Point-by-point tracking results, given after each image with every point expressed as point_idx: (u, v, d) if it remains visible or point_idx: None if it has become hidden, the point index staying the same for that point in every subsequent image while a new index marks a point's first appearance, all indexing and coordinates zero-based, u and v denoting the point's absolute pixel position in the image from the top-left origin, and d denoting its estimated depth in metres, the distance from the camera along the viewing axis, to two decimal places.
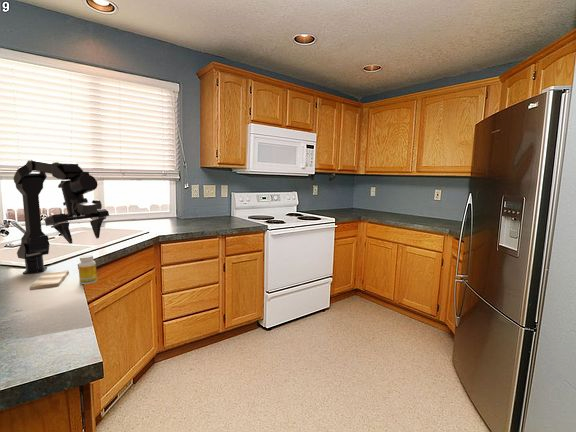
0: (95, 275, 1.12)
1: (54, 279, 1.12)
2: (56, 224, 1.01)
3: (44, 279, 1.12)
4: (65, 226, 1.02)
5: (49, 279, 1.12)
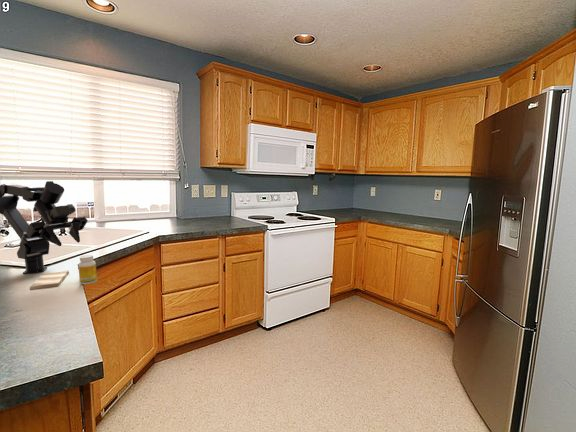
0: (95, 275, 1.12)
1: (54, 279, 1.12)
2: (41, 230, 1.09)
3: (44, 279, 1.12)
4: (50, 230, 1.10)
5: (49, 279, 1.12)
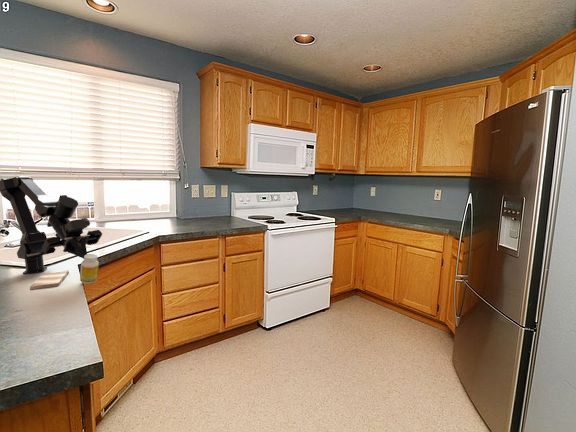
0: (96, 275, 1.12)
1: (54, 279, 1.12)
2: (66, 244, 1.09)
3: (44, 279, 1.12)
4: (74, 243, 1.10)
5: (49, 279, 1.12)
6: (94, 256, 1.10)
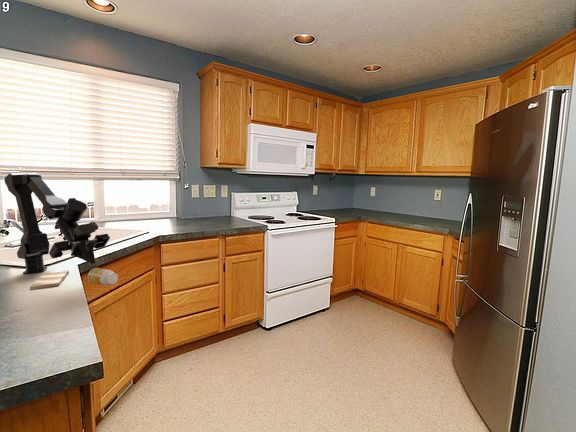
0: None
1: (54, 279, 1.12)
2: (74, 248, 1.07)
3: (44, 279, 1.12)
4: (82, 248, 1.08)
5: (49, 279, 1.12)
6: (114, 281, 1.08)
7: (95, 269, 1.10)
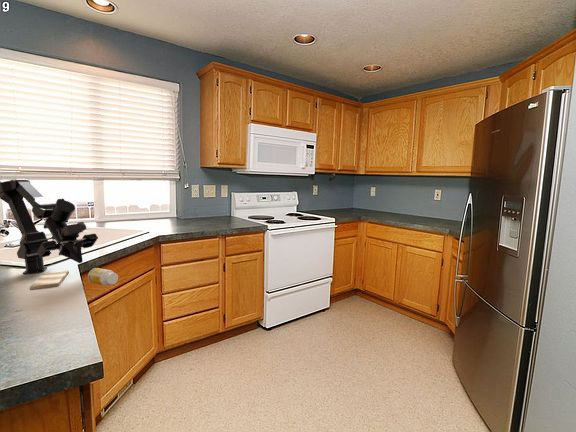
0: None
1: (54, 279, 1.12)
2: (61, 248, 1.10)
3: (44, 279, 1.12)
4: (70, 247, 1.11)
5: (49, 279, 1.12)
6: (114, 281, 1.08)
7: (95, 269, 1.10)
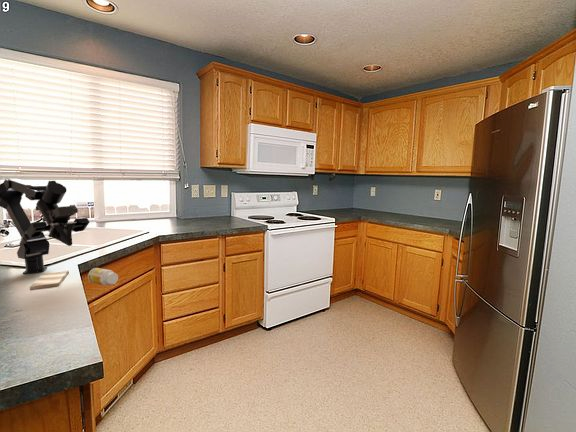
0: None
1: (54, 279, 1.12)
2: (51, 230, 1.10)
3: (44, 279, 1.12)
4: (60, 229, 1.11)
5: (49, 279, 1.12)
6: (114, 281, 1.08)
7: (95, 269, 1.10)
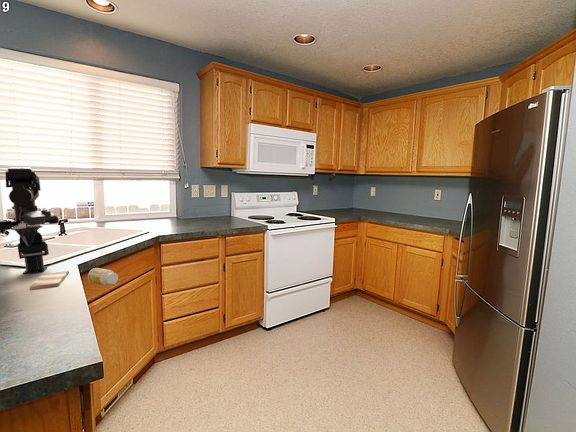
0: None
1: (54, 279, 1.12)
2: (16, 228, 1.08)
3: (44, 279, 1.12)
4: (24, 231, 1.09)
5: (49, 279, 1.12)
6: (114, 281, 1.08)
7: (95, 269, 1.10)
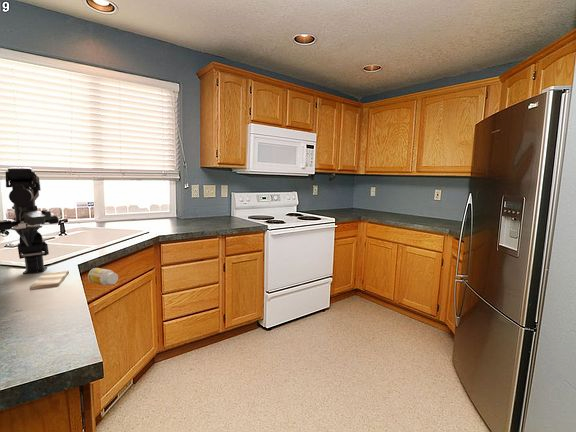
0: None
1: (54, 279, 1.12)
2: (16, 228, 1.08)
3: (44, 279, 1.12)
4: (24, 231, 1.09)
5: (49, 279, 1.12)
6: (114, 281, 1.08)
7: (95, 269, 1.10)
